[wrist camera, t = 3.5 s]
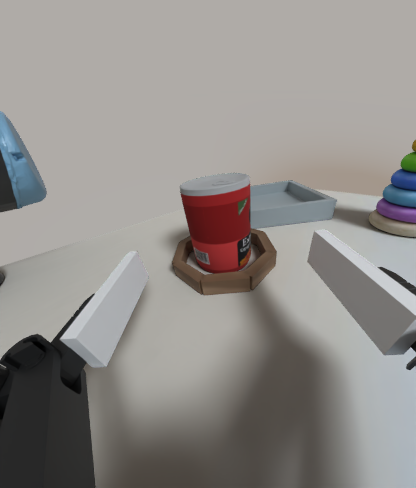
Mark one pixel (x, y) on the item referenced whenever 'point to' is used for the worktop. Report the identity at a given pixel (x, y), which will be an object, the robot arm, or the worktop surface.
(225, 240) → the canned food
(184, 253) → the holder ring
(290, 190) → the tray
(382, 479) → the worktop surface
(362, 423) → the worktop surface
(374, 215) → the stacking toy
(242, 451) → the worktop surface
